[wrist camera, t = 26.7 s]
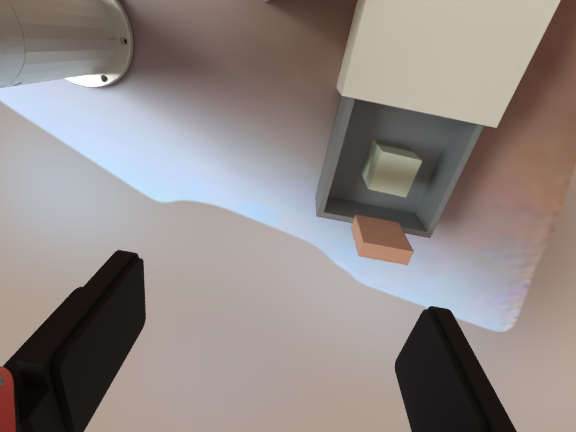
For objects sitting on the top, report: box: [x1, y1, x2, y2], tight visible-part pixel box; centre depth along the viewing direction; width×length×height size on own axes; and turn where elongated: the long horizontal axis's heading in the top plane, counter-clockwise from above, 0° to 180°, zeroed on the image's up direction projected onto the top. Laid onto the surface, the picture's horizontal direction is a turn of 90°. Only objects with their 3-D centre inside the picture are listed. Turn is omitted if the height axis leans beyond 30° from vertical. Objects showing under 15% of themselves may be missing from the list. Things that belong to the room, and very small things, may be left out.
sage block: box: [361, 138, 422, 197], centre depth 42 cm, size 5×5×6 cm
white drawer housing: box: [336, 0, 561, 128], centre depth 34 cm, size 18×16×7 cm
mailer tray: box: [315, 96, 484, 265], centre depth 39 cm, size 16×19×13 cm
